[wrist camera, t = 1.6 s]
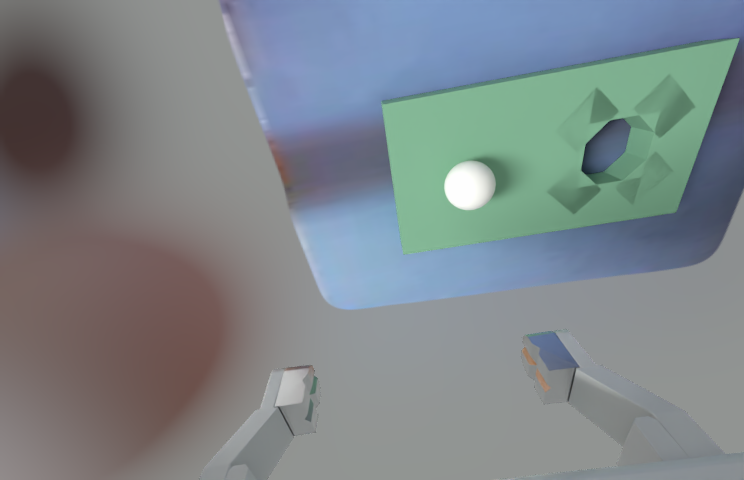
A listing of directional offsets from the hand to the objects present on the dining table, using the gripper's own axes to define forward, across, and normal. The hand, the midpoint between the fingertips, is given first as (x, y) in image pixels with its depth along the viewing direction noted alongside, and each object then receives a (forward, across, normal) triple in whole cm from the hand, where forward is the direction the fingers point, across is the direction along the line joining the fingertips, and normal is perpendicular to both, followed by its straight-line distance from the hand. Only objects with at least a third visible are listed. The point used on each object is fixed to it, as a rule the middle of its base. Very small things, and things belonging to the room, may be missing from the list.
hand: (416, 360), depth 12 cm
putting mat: (+20, -14, 0) cm, 25 cm away
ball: (+16, -7, 0) cm, 17 cm away
